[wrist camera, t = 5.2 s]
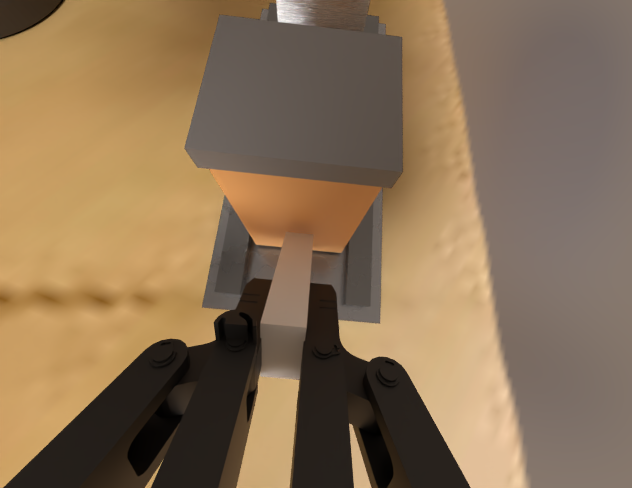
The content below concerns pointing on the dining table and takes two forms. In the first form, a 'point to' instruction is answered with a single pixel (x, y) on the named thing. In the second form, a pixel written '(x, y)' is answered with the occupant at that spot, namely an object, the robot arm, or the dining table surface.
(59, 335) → the dining table surface
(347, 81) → the orange tall block
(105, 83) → the dining table surface
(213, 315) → the dining table surface
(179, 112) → the dining table surface
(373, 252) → the gray canister tray
